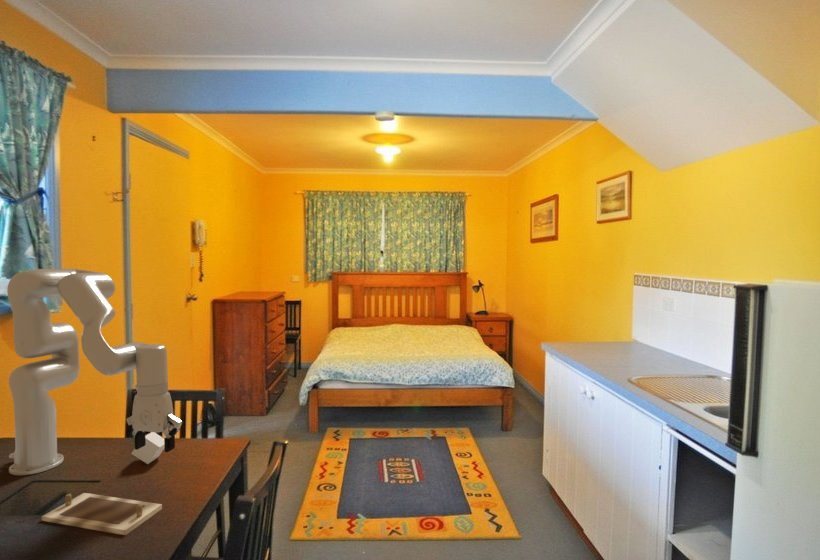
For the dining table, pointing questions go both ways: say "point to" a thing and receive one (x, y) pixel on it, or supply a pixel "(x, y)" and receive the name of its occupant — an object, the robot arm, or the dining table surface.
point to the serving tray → (102, 513)
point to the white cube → (150, 448)
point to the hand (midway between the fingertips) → (155, 448)
